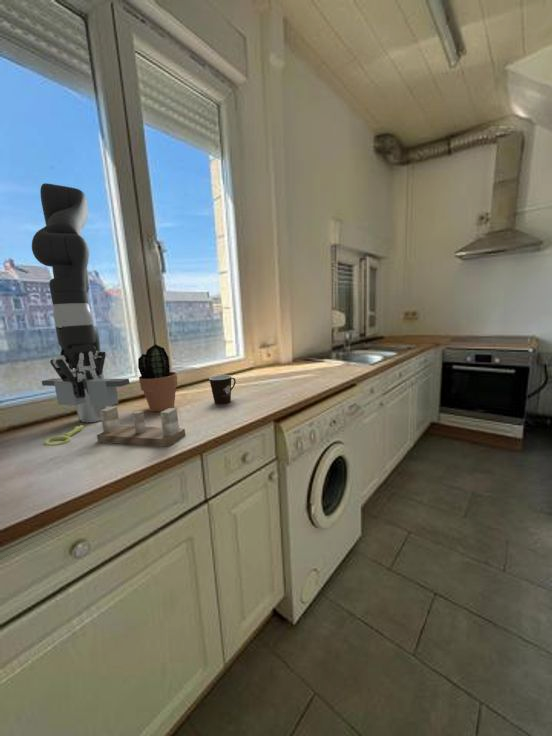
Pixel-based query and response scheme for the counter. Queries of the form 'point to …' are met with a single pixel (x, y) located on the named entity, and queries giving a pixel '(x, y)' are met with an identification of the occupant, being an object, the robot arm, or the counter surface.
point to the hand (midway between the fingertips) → (86, 395)
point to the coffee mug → (221, 388)
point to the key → (65, 437)
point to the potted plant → (157, 379)
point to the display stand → (140, 429)
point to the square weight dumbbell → (98, 390)
